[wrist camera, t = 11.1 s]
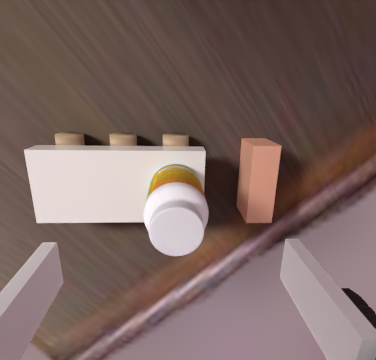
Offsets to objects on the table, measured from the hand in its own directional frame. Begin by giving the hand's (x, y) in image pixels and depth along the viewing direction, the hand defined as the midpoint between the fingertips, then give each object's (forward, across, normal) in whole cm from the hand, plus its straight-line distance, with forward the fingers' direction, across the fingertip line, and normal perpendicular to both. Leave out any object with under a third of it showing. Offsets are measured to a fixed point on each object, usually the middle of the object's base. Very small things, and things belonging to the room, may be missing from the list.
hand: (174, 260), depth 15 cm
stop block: (+19, +10, -1) cm, 21 cm away
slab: (+16, -6, 0) cm, 17 cm away
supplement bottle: (+13, 0, 0) cm, 13 cm away
